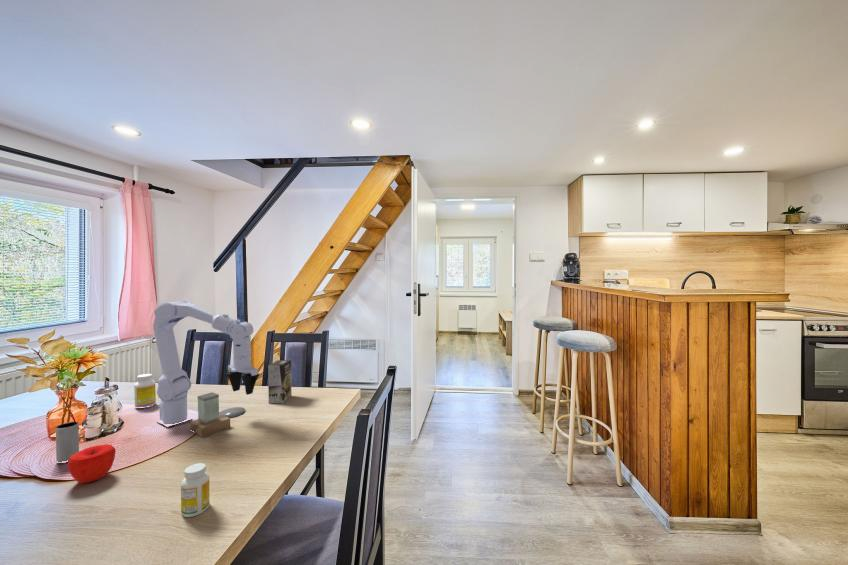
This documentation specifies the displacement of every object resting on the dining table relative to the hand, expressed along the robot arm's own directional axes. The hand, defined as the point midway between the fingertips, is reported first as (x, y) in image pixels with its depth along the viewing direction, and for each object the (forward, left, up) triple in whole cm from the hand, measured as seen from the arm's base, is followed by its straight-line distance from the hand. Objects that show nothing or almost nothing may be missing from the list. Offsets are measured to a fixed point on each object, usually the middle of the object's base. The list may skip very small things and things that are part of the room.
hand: (242, 392), depth 123 cm
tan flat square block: (-3, -10, -10) cm, 15 cm away
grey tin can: (-17, -42, -11) cm, 47 cm away
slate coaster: (-10, +1, -10) cm, 14 cm away
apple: (+2, -41, -11) cm, 42 cm away
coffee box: (-7, +20, -11) cm, 24 cm away
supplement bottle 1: (-48, -14, -11) cm, 51 cm away
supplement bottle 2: (+38, -32, -11) cm, 51 cm away
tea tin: (-3, -10, -7) cm, 13 cm away
